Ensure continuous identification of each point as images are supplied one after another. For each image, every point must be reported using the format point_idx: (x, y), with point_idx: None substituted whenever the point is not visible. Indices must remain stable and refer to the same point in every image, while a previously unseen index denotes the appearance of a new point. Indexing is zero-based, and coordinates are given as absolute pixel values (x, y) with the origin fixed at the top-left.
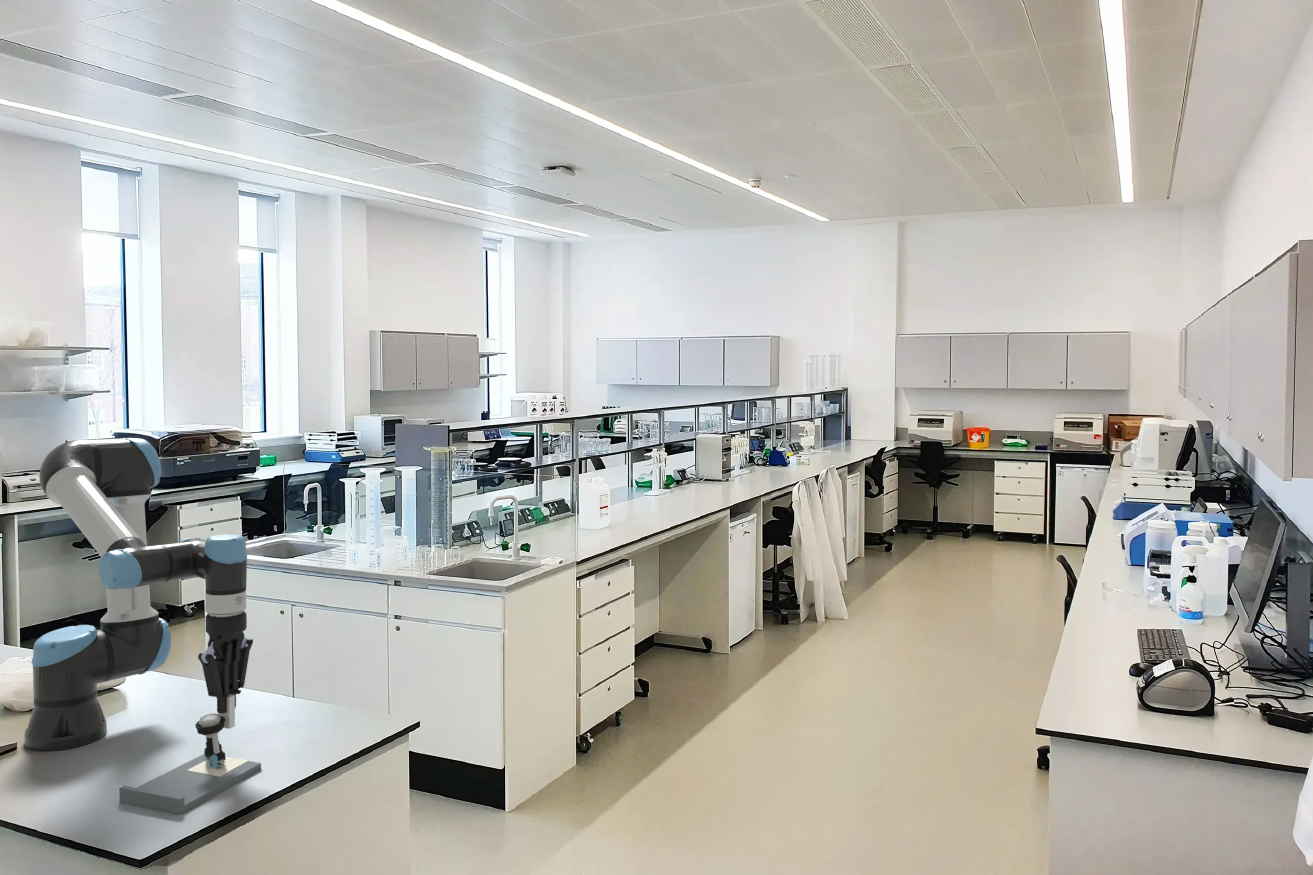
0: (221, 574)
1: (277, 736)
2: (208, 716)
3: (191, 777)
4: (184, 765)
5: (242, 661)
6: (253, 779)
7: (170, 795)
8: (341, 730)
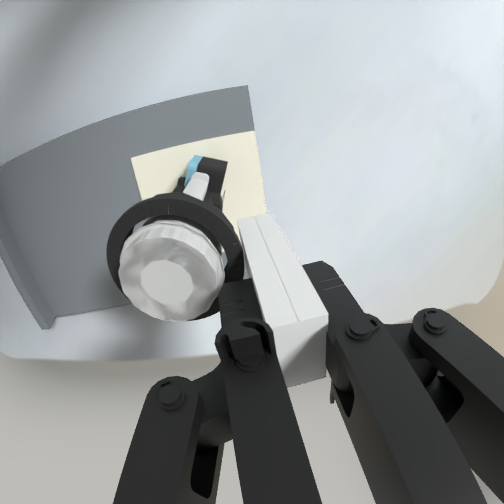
0: None
1: (428, 147)
2: (170, 267)
3: (115, 210)
4: (150, 116)
5: (501, 487)
6: None
7: (31, 304)
8: (466, 240)
